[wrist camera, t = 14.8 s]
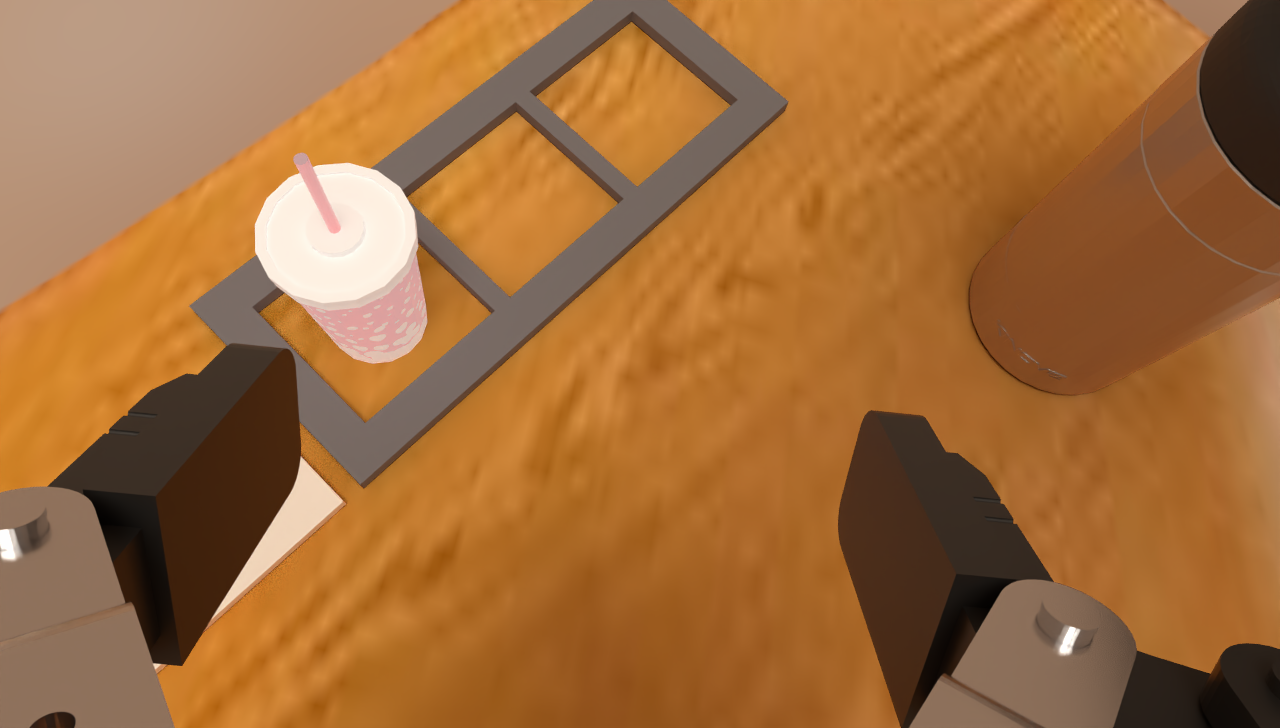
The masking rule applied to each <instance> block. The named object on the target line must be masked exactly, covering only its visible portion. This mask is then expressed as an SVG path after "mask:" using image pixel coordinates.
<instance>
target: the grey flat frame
mask: <svg viewBox="0 0 1280 728" xmlns="http://www.w3.org/2000/svg"><path fill="white" fill-rule="evenodd" d="M631 21H632V22H633V23H634V24H636V25H637V26H638V27H639V28H640V29H641V30H643V31H644V32H645V33H646V34H647V35H649V36H650V37H651V38H652V39H653V40H654V41H656V42H657V43H658V44H659V45H660V46H662V47H663V48H664V49H665V50H666V51H667V52H669V53H670V54H671V55H672V56H673V57H675V58H676V59H677V60H678V61H679V62H680V63H682V64H683V65H684V66H685V67H686V68H688V69H689V70H690V71H691V72H692V73H693V74H695V75H696V76H697V77H698V78H699V79H701V80H702V81H703V82H704V83H705V84H706V85H708V86H709V87H710V88H711V89H712V90H714V91H715V92H716V93H717V94H718V95H719V96H721V97H722V98H723V99H724V100H725V101H727V102H728V103H729V104H730V105H731V106H730V107H729V108H728V109H727V110H726V111H724V112H723V113H722V114H721V115H720V116H719V117H717V118H716V119H715V120H714V121H713V122H712V123H711V124H709V125H708V126H707V127H706V128H705V129H704V130H703V131H701V132H700V133H699V134H698V135H697V136H696V137H694V138H693V139H692V140H691V141H690V142H689V143H688V144H686V145H685V146H684V147H683V148H682V149H681V150H679V151H678V152H677V153H676V154H675V155H674V156H673V157H671V158H670V159H669V160H668V161H667V162H666V163H665V164H663V165H662V166H661V167H660V168H659V169H658V170H656V171H655V172H654V173H653V174H652V175H651V176H650V177H648V178H647V179H646V180H645V181H644V182H643V183H641V184H640V185H639V186H638V187H637V186H635V185H634V184H633V183H632V182H631V181H630V180H629V179H628V178H626V177H625V176H624V175H623V174H622V173H621V172H620V171H619V170H617V169H616V168H615V167H614V166H613V165H612V164H611V163H610V162H608V161H607V160H606V159H605V158H604V157H603V156H602V155H601V154H599V153H598V152H597V151H596V150H595V149H594V148H593V147H592V146H590V145H589V144H588V143H587V142H586V141H585V140H584V139H583V138H581V137H580V136H579V135H578V134H577V133H576V132H575V131H574V130H572V129H571V128H570V127H569V126H568V125H567V124H566V123H565V122H563V121H562V120H561V119H560V118H559V117H558V116H557V115H556V114H554V113H553V112H552V111H551V110H550V109H549V108H548V107H547V106H545V105H544V104H543V103H542V102H541V101H540V100H539V99H538V98H536V97H535V96H536V95H538V94H539V93H540V92H542V91H543V90H544V89H545V88H547V87H548V86H549V85H550V84H552V83H553V82H554V81H556V80H557V79H558V78H559V77H561V76H562V75H563V74H565V73H566V72H567V71H568V70H570V69H571V68H572V67H574V66H575V65H576V64H577V63H579V62H580V61H581V60H582V59H584V58H585V57H586V56H588V55H589V54H590V53H591V52H593V51H594V50H595V49H597V48H598V47H599V46H600V45H602V44H603V43H604V42H606V41H607V40H608V39H609V38H611V37H612V36H613V35H614V34H616V33H617V32H618V31H620V30H621V29H622V28H623V27H625V26H626V25H627V24H629V23H630V22H631ZM787 104H788V101H787V100H786V99H785V98H783V97H782V96H781V95H780V94H779V93H777V92H776V91H775V90H774V89H773V88H771V87H770V86H769V85H768V84H767V83H765V82H764V81H763V80H762V79H761V78H759V77H758V76H757V75H756V74H755V73H753V72H752V71H751V70H750V69H749V68H747V67H746V66H745V65H744V64H743V63H741V62H740V61H739V60H738V59H737V58H735V57H734V56H733V55H732V54H731V53H729V52H728V51H727V50H726V49H725V48H723V47H722V46H721V45H720V44H719V43H717V42H716V41H715V40H714V39H713V38H711V37H710V36H709V35H708V34H707V33H705V32H704V31H703V30H702V29H701V28H699V27H698V26H697V25H696V24H695V23H693V22H692V21H691V20H690V19H689V18H687V17H686V16H685V15H684V14H683V13H681V12H680V11H679V10H678V9H677V8H675V7H674V6H673V5H672V4H670V3H669V2H668V1H667V0H593V1H592V2H590V3H589V4H588V5H587V6H585V7H584V8H583V9H581V10H580V11H579V12H577V13H576V14H575V15H573V16H572V17H571V18H569V19H568V20H567V21H565V22H564V23H563V24H561V25H560V26H559V27H557V28H556V29H555V30H553V31H552V32H551V33H549V34H548V35H547V36H546V37H544V38H543V39H542V40H540V41H539V42H538V43H536V44H535V45H534V46H532V47H531V48H530V49H528V50H527V51H526V52H524V53H523V54H522V55H520V56H519V57H518V58H516V59H515V60H514V61H512V62H511V63H510V64H508V65H507V66H506V67H505V68H503V69H502V70H501V71H499V72H498V73H497V74H495V75H494V76H493V77H491V78H490V79H489V80H487V81H486V82H485V83H483V84H482V85H481V86H479V87H478V88H477V89H475V90H474V91H473V92H471V93H470V94H469V95H467V96H466V97H465V98H464V99H462V100H461V101H460V102H458V103H457V104H456V105H454V106H453V107H452V108H450V109H449V110H448V111H446V112H445V113H444V114H442V115H441V116H440V117H438V118H437V119H436V120H434V121H433V122H432V123H430V124H429V125H428V126H426V127H425V128H424V129H423V130H421V131H420V132H419V133H417V134H416V135H415V136H413V137H412V138H411V139H409V140H408V141H407V142H405V143H404V144H403V145H401V146H400V147H399V148H397V149H396V150H395V151H393V152H392V153H391V154H389V155H388V156H387V157H385V158H384V159H383V160H382V161H380V162H379V163H378V164H376V165H375V166H374V167H372V168H371V169H373V170H377V171H378V172H380V173H381V174H383V175H384V176H385V177H387V178H388V179H390V180H391V181H392V182H394V183H395V184H397V185H398V186H399V187H400V188H401V189H402V191H403V193H404V194H405V196H406V197H407V196H408V195H410V194H411V193H412V192H414V191H415V190H416V189H417V188H419V187H420V186H421V185H423V184H424V183H425V182H426V181H428V180H429V179H430V178H431V177H433V176H434V175H435V174H437V173H438V172H439V171H440V170H442V169H443V168H444V167H446V166H447V165H448V164H449V163H451V162H452V161H453V160H455V159H456V158H457V157H458V156H460V155H461V154H462V153H463V152H465V151H466V150H467V149H469V148H470V147H471V146H472V145H474V144H475V143H476V142H478V141H479V140H480V139H481V138H483V137H484V136H485V135H487V134H488V133H489V132H490V131H492V130H493V129H494V128H495V127H497V126H498V125H499V124H501V123H502V122H503V121H504V120H506V119H507V118H508V117H510V116H511V115H512V114H513V113H515V112H516V111H517V112H518V113H519V114H520V115H521V116H522V117H523V118H525V119H526V120H527V121H528V122H529V123H530V124H531V125H532V126H534V127H535V128H536V129H537V130H538V131H539V132H540V133H541V134H542V135H544V136H545V137H546V138H547V139H548V140H549V141H550V142H551V143H552V144H554V145H555V146H556V147H557V148H558V149H559V150H560V151H561V152H562V153H564V154H565V155H566V156H567V157H568V158H569V159H570V160H571V161H572V162H574V163H575V164H576V165H577V166H578V167H579V168H580V169H581V170H583V171H584V172H585V173H586V174H587V175H588V176H589V177H590V178H591V179H593V180H594V181H595V182H596V183H597V184H598V185H599V186H600V187H601V188H603V189H604V190H605V191H606V192H607V193H608V194H609V195H610V196H611V197H613V198H614V199H615V200H616V201H617V202H618V204H617V205H616V206H615V207H614V208H613V209H612V210H610V211H609V212H608V213H607V214H606V215H605V216H603V217H602V218H601V219H600V220H599V221H598V222H597V223H595V224H594V225H593V226H592V227H591V228H590V229H589V230H587V231H586V232H585V233H584V234H583V235H582V236H580V237H579V238H578V239H577V240H576V241H575V242H574V243H572V244H571V245H570V246H569V247H568V248H567V249H565V250H564V251H563V252H562V253H561V254H560V255H559V256H557V257H556V258H555V259H554V260H553V261H552V262H551V263H549V264H548V265H547V266H546V267H545V268H544V269H542V270H541V271H540V272H539V273H538V274H537V275H536V276H534V277H533V278H532V279H531V280H530V281H529V282H527V283H526V284H525V285H524V286H523V287H522V288H521V289H519V290H518V291H517V292H516V293H515V294H514V295H513V296H511V297H509V296H508V295H507V294H506V293H505V292H504V291H503V290H502V289H501V288H500V287H498V286H497V285H496V284H495V283H494V282H493V281H492V280H491V279H490V278H489V277H488V276H487V275H486V274H485V273H484V272H483V271H482V270H481V269H480V268H479V267H477V266H476V265H475V264H474V263H473V262H472V261H471V260H470V259H469V258H468V257H467V256H466V255H465V254H464V253H463V252H462V251H461V250H460V249H459V248H457V247H456V246H455V245H454V244H453V243H452V242H451V241H450V240H449V239H448V238H447V237H446V236H445V235H444V234H443V233H442V232H441V231H440V230H439V229H437V228H436V227H435V226H434V225H433V224H432V223H431V222H430V221H429V220H428V219H427V218H426V217H425V216H424V215H423V214H422V213H421V212H420V211H419V210H417V209H416V208H415V207H414V206H413V205H412V204H411V203H410V202H409V203H410V205H411V206H412V208H413V210H414V213H415V219H416V225H417V238H418V243H419V244H420V245H421V246H422V247H423V248H425V249H426V250H427V251H428V252H429V253H430V254H431V255H432V256H433V257H434V258H435V259H436V260H437V261H438V262H439V263H440V264H441V265H442V266H443V267H444V268H445V269H446V270H447V271H449V272H450V273H451V274H452V275H453V276H454V277H455V278H456V279H457V280H458V281H459V282H460V283H461V284H462V285H463V286H464V287H465V288H466V289H467V290H468V291H469V292H470V293H471V294H472V295H474V296H475V297H476V298H477V299H478V300H479V301H480V302H481V303H482V304H483V305H484V306H485V307H486V308H487V309H488V310H489V311H490V312H491V313H492V314H491V315H489V316H488V317H487V318H486V319H485V320H484V321H483V322H481V323H480V324H479V325H478V326H477V327H476V328H475V329H473V330H472V331H471V332H470V333H469V334H468V335H466V336H465V337H464V338H463V339H462V340H461V341H460V342H458V343H457V344H456V345H455V346H454V347H453V348H451V349H450V350H449V351H448V352H447V353H446V354H445V355H443V356H442V357H441V358H440V359H439V360H438V361H437V362H435V363H434V364H433V365H432V366H431V367H430V368H428V369H427V370H426V371H425V372H424V373H423V374H422V375H420V376H419V377H418V378H417V379H416V380H415V381H413V382H412V383H411V384H410V385H409V386H408V387H407V388H405V389H404V390H403V391H402V392H401V393H400V394H399V395H397V396H396V397H395V398H394V399H393V400H392V401H390V402H389V403H388V404H387V405H386V406H385V407H384V408H382V409H381V410H380V411H379V412H378V413H377V414H375V415H374V416H373V417H372V418H371V419H370V420H369V421H367V422H366V423H365V422H364V421H363V420H362V419H361V418H360V417H359V416H358V415H357V414H356V413H355V412H354V411H353V410H352V409H351V408H350V407H349V406H348V405H347V404H346V403H345V402H344V401H343V400H342V399H341V398H340V397H339V396H338V395H337V394H336V393H335V392H334V391H333V390H332V389H331V388H330V386H329V385H328V384H327V383H326V382H325V381H324V380H323V379H322V378H321V377H320V376H319V375H318V374H317V373H316V372H315V371H314V370H313V369H312V368H311V367H310V366H309V365H308V364H307V363H306V362H305V361H304V360H303V359H302V358H301V357H300V356H299V355H298V354H297V353H296V352H295V351H294V350H293V349H292V347H291V346H290V345H289V344H288V343H287V342H286V341H285V340H284V339H283V338H282V337H281V336H280V335H279V334H278V333H277V332H276V331H275V330H274V329H273V328H272V327H271V326H270V325H269V324H268V323H267V322H266V321H265V320H264V319H263V318H262V317H261V316H260V315H259V314H258V313H259V312H260V311H261V310H263V309H264V308H265V307H266V306H268V305H269V304H270V303H272V302H273V301H274V300H275V299H277V298H278V297H279V296H280V295H282V294H283V293H284V292H283V291H282V290H281V289H279V288H278V287H277V286H276V285H275V284H274V282H272V281H271V280H270V279H269V277H268V275H267V273H266V271H265V270H264V268H263V266H262V264H261V262H260V260H259V258H258V256H257V255H256V256H255V257H253V258H252V259H251V260H249V261H248V262H247V263H245V264H244V265H243V266H241V267H240V268H239V269H237V270H236V271H235V272H233V273H232V274H231V275H229V276H228V277H227V278H225V279H224V280H223V281H222V282H220V283H219V284H218V285H216V286H215V287H214V288H212V289H211V290H210V291H208V292H207V293H206V294H204V295H203V296H202V297H200V298H199V299H198V300H196V301H195V302H194V303H192V304H191V305H190V307H191V308H192V309H193V310H194V312H195V313H196V314H197V315H198V316H199V317H200V318H201V319H202V320H203V321H204V322H205V323H206V324H207V325H208V326H209V327H210V328H211V329H212V330H213V331H214V332H215V333H216V335H217V336H218V337H219V338H220V339H221V340H222V341H223V342H224V343H225V344H226V345H227V346H228V345H229V344H231V343H238V344H248V345H258V346H267V347H277V348H287V349H289V350H290V351H291V352H292V354H293V356H294V359H295V364H296V376H297V392H298V407H299V421H300V422H301V423H302V424H303V425H304V427H305V428H306V429H307V430H308V431H309V432H310V433H311V434H312V435H313V436H314V437H315V438H316V439H317V440H318V441H319V442H320V443H321V444H322V445H323V446H324V447H325V448H326V450H327V451H328V452H329V453H330V454H331V455H332V456H333V457H334V458H335V459H336V460H337V461H338V462H339V463H340V464H341V465H342V466H343V467H344V468H345V469H346V470H347V471H348V473H349V474H350V475H351V476H352V477H353V478H354V479H355V480H356V481H357V482H358V483H359V484H360V485H361V486H362V487H363V488H365V487H366V486H367V485H368V484H369V483H370V482H371V481H372V480H374V479H375V478H376V477H377V476H378V475H379V474H380V473H381V472H382V471H384V470H385V469H386V468H387V467H388V466H389V465H390V464H391V463H393V462H394V461H395V460H396V459H397V458H398V457H399V456H400V455H401V454H403V453H404V452H405V451H406V450H407V449H408V448H409V447H410V446H411V445H413V444H414V443H415V442H416V441H417V440H418V439H419V438H420V437H422V436H423V435H424V434H425V433H426V432H427V431H428V430H429V429H430V428H432V427H433V426H434V425H435V424H436V423H437V422H438V421H439V420H440V419H442V418H443V417H444V416H445V415H446V414H447V413H448V412H449V411H451V410H452V409H453V408H454V407H455V406H456V405H457V404H458V403H459V402H461V401H462V400H463V399H464V398H465V397H466V396H467V395H468V394H469V393H471V392H472V391H473V390H474V389H475V388H476V387H477V386H478V385H480V384H481V383H482V382H483V381H484V380H485V379H486V378H487V377H488V376H490V375H491V374H492V373H493V372H494V371H495V370H496V369H497V368H498V367H500V366H501V365H502V364H503V363H504V362H505V361H506V360H507V359H508V358H510V357H511V356H512V355H513V354H514V353H515V352H516V351H517V350H519V349H520V348H521V347H522V346H523V345H524V344H525V343H526V342H527V341H529V340H530V339H531V338H532V337H533V336H534V335H535V334H536V333H537V332H539V331H540V330H541V329H542V328H543V327H544V326H545V325H546V324H548V323H549V322H550V321H551V320H552V319H553V318H554V317H555V316H556V315H558V314H559V313H560V312H561V311H562V310H563V309H564V308H565V307H566V306H568V305H569V304H570V303H571V302H572V301H573V300H574V299H575V298H577V297H578V296H579V295H580V294H581V293H582V292H583V291H584V290H585V289H587V288H588V287H589V286H590V285H591V284H592V283H593V282H594V281H595V280H597V279H598V278H599V277H600V276H601V275H602V274H603V273H604V272H605V271H607V270H608V269H609V268H610V267H611V266H612V265H613V264H614V263H616V262H617V261H618V260H619V259H620V258H621V257H622V256H623V255H624V254H626V253H627V252H628V251H629V250H630V249H631V248H632V247H633V246H634V245H636V244H637V243H638V242H639V241H640V240H641V239H642V238H643V237H645V236H646V235H647V234H648V233H649V232H650V231H651V230H652V229H653V228H655V227H656V226H657V225H658V224H659V223H660V222H661V221H662V220H663V219H665V218H666V217H667V216H668V215H669V214H670V213H671V212H672V211H674V210H675V209H676V208H677V207H678V206H679V205H680V204H681V203H682V202H684V201H685V200H686V199H687V198H688V197H689V196H690V195H691V194H692V193H694V192H695V191H696V190H697V189H698V188H699V187H700V186H701V185H702V184H704V183H705V182H706V181H707V180H708V179H709V178H710V177H711V176H713V175H714V174H715V173H716V172H717V171H718V170H719V169H720V168H721V167H723V166H724V165H725V164H726V163H727V162H728V161H729V160H730V159H731V158H733V157H734V156H735V155H736V154H737V153H738V152H739V151H740V150H742V149H743V148H744V147H745V146H746V145H747V144H748V143H749V142H750V141H752V140H753V139H754V138H755V137H756V136H757V135H758V134H759V133H760V132H762V131H763V130H764V129H765V128H766V127H767V126H768V125H769V124H771V123H772V122H773V121H774V120H775V119H776V118H777V117H778V116H779V115H781V114H782V113H783V112H784V111H785V109H786V107H787Z"/></svg>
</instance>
